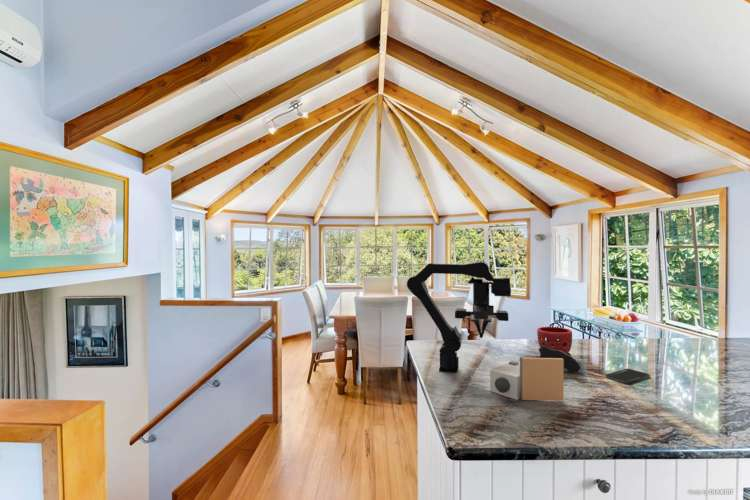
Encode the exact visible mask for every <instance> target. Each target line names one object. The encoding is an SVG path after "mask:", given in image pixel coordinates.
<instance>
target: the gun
mask: <svg viewBox="0 0 750 500" xmlns="http://www.w3.org/2000/svg"><path fill="white" fill-rule="evenodd" d="M538 352H539V354H540V355H539V357H538V358H562V359H564V370H567V371H569V372H571V373H572V374H578V373H579V372H583V371H584V368H582V367H581V365H580V363H578V362H577V360H576V359H575V358H573V356H572V355H571V356H570V355H568V354H566V353H564V352H562V351H560V350H557V349H551V348H548V347H546V346H544V345H543V346H541V347H540V346H539V348H538Z"/></svg>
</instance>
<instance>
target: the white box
mask: <svg viewBox="0 0 750 500" xmlns="http://www.w3.org/2000/svg"><path fill="white" fill-rule="evenodd" d="M489 371H490V372H489V373H490V374H489V377H490V379H489V383H490V385H489V391H490V392H491V391H492V393H494V392H495V394H497V393H498V395H501V396H503V397H507V398H510V399H513V400H519V399H520V361H517V360H508V361H506V362H503V363H501V364H499V365H498V366H495V367H493V368H491V369H489Z"/></svg>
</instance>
